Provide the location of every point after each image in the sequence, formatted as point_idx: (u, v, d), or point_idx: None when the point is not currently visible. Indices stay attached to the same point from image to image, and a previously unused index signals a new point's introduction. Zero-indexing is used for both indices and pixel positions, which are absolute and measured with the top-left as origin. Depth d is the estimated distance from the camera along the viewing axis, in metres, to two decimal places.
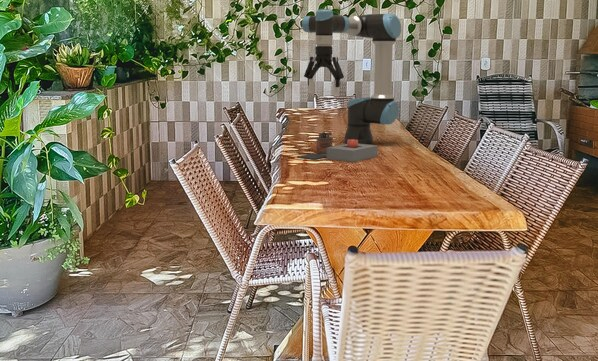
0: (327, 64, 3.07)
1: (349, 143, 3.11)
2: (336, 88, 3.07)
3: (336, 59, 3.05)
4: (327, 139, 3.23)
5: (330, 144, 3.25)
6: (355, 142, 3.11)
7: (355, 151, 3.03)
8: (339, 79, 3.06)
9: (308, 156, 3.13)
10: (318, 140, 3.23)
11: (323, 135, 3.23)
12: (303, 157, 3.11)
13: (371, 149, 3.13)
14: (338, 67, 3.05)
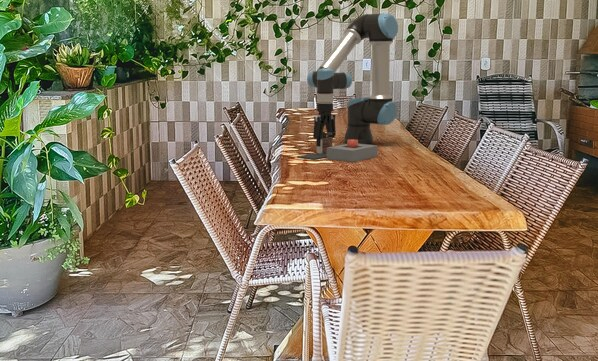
0: None
1: (349, 143, 3.11)
2: (318, 147, 3.22)
3: (316, 119, 3.18)
4: (327, 139, 3.23)
5: (330, 144, 3.25)
6: (355, 142, 3.11)
7: (355, 151, 3.03)
8: (317, 139, 3.20)
9: (308, 156, 3.13)
10: None
11: (323, 135, 3.23)
12: (303, 157, 3.11)
13: (371, 149, 3.13)
14: (315, 127, 3.18)
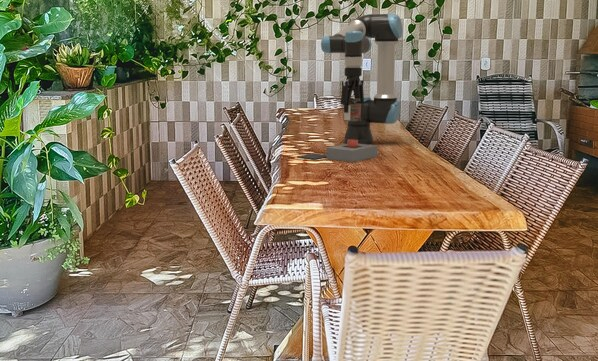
0: None
1: (349, 143, 3.11)
2: (346, 113, 3.07)
3: (344, 84, 3.03)
4: (355, 105, 3.08)
5: (358, 111, 3.10)
6: (355, 142, 3.11)
7: (355, 151, 3.03)
8: (345, 104, 3.05)
9: (308, 156, 3.13)
10: None
11: (351, 101, 3.08)
12: (303, 157, 3.11)
13: (371, 149, 3.13)
14: (343, 92, 3.04)
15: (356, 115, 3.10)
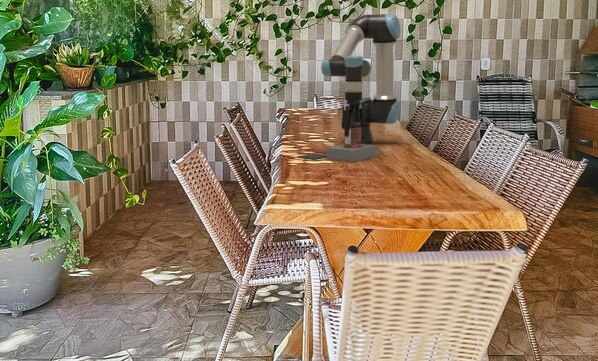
0: None
1: None
2: (347, 137, 3.09)
3: (344, 108, 3.05)
4: (355, 129, 3.10)
5: (358, 134, 3.11)
6: (355, 146, 3.11)
7: (355, 151, 3.03)
8: (345, 129, 3.07)
9: (308, 156, 3.13)
10: None
11: (351, 125, 3.10)
12: (303, 157, 3.11)
13: (371, 149, 3.13)
14: (344, 116, 3.05)
15: (356, 139, 3.11)
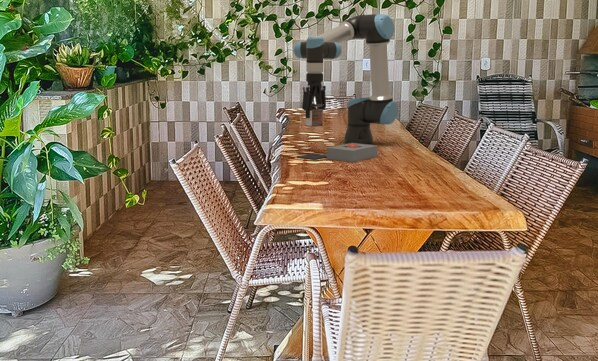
0: None
1: None
2: (308, 119, 3.08)
3: (305, 89, 3.04)
4: (317, 111, 3.10)
5: (320, 116, 3.11)
6: (355, 147, 3.11)
7: (355, 151, 3.03)
8: (306, 110, 3.06)
9: (308, 156, 3.13)
10: None
11: (313, 106, 3.10)
12: (303, 157, 3.11)
13: (371, 149, 3.13)
14: (304, 98, 3.05)
15: (318, 121, 3.11)
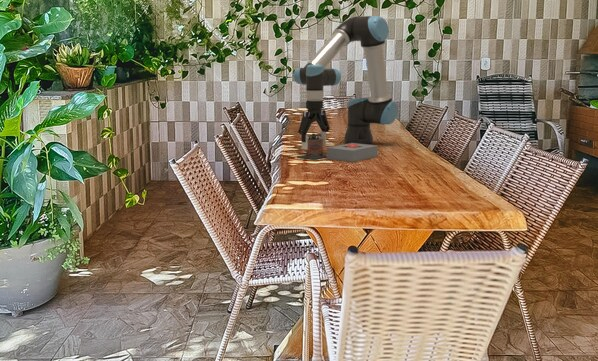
0: None
1: None
2: (304, 143, 3.08)
3: (304, 114, 3.06)
4: (317, 141, 3.12)
5: (320, 146, 3.13)
6: (355, 147, 3.11)
7: (355, 151, 3.03)
8: (302, 134, 3.06)
9: (308, 156, 3.13)
10: None
11: (313, 137, 3.12)
12: (303, 157, 3.11)
13: (371, 149, 3.13)
14: (302, 122, 3.06)
15: (318, 150, 3.13)
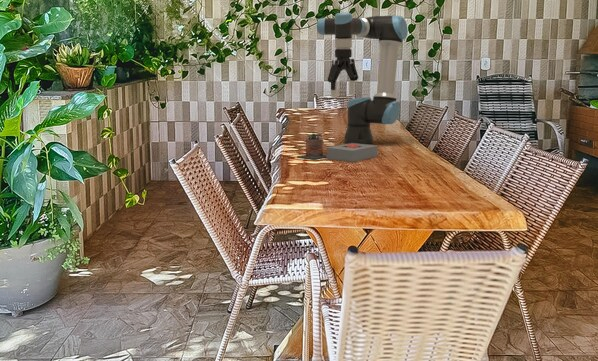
0: None
1: None
2: (333, 91, 3.11)
3: (334, 62, 3.09)
4: (317, 141, 3.12)
5: (320, 146, 3.13)
6: (355, 147, 3.11)
7: (355, 151, 3.03)
8: (332, 82, 3.09)
9: (308, 156, 3.13)
10: (307, 142, 3.12)
11: (313, 137, 3.12)
12: (303, 157, 3.11)
13: (371, 149, 3.13)
14: (331, 70, 3.09)
15: (318, 150, 3.13)
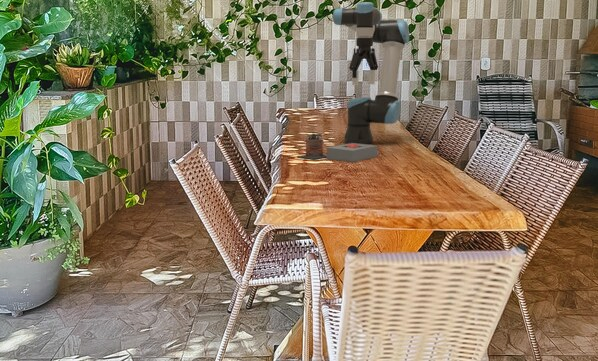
0: None
1: None
2: (354, 79, 3.15)
3: (355, 50, 3.13)
4: (317, 141, 3.12)
5: (320, 146, 3.13)
6: (355, 147, 3.11)
7: (355, 151, 3.03)
8: (353, 70, 3.13)
9: (308, 156, 3.13)
10: (307, 142, 3.12)
11: (313, 137, 3.12)
12: (303, 157, 3.11)
13: (371, 149, 3.13)
14: (353, 58, 3.13)
15: (318, 150, 3.13)
